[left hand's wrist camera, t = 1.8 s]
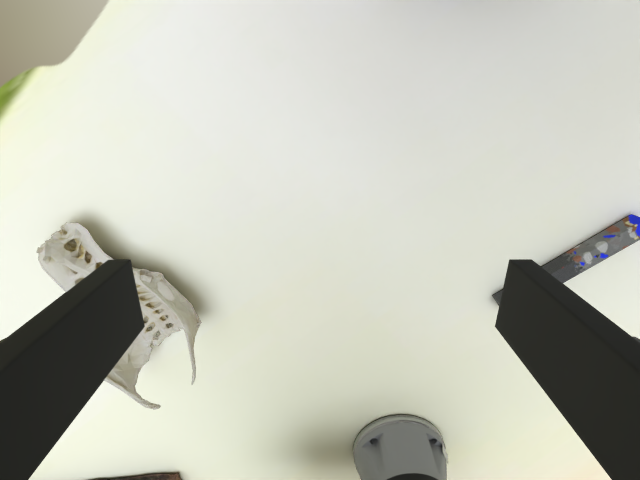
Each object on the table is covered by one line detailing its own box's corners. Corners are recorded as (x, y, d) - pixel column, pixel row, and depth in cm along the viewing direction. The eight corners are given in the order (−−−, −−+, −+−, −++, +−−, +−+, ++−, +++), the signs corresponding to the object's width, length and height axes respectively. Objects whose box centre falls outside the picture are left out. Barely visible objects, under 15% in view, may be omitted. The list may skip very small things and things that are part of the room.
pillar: (499, 303, 48) (648, 218, 44) (492, 295, 50) (634, 212, 46) (506, 314, 49) (654, 231, 44) (499, 306, 51) (639, 225, 46)
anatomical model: (135, 423, 48) (-35, 293, 39) (161, 372, 56) (26, 257, 48) (220, 370, 44) (54, 217, 36) (234, 325, 53) (103, 193, 45)
